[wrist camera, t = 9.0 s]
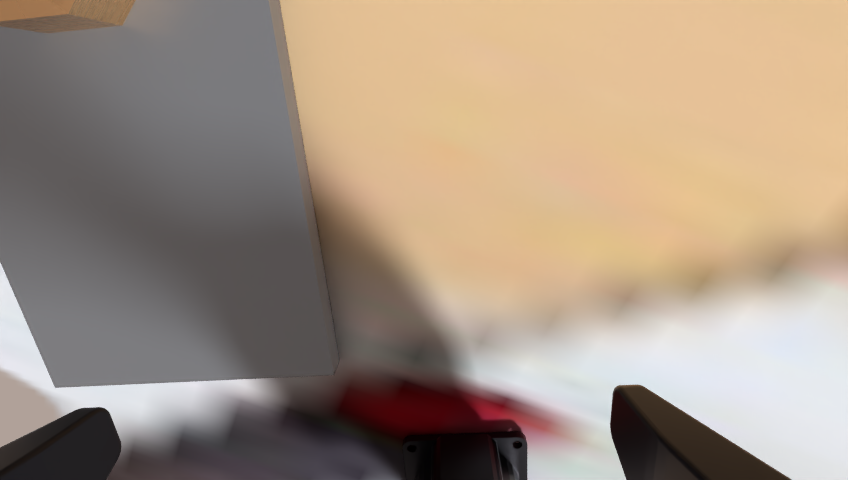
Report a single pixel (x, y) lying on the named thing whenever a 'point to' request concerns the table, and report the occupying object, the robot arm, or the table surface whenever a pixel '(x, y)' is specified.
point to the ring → (63, 14)
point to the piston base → (162, 199)
